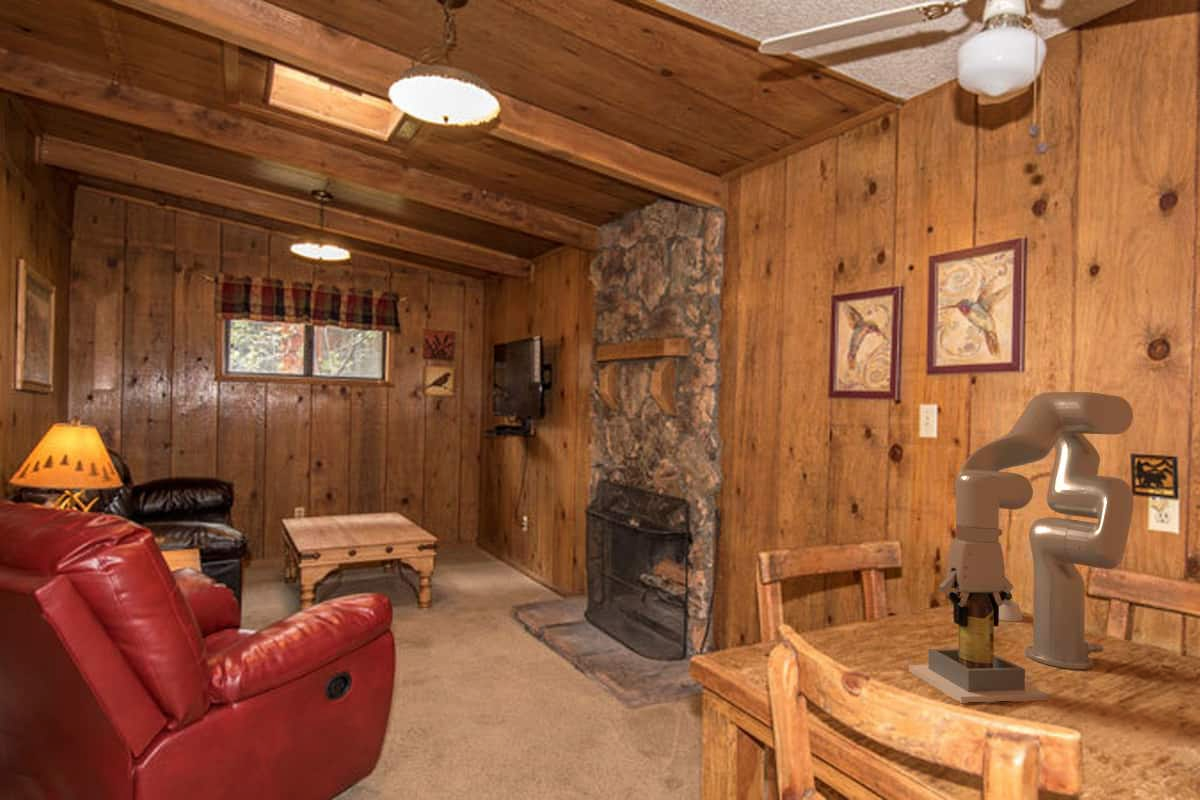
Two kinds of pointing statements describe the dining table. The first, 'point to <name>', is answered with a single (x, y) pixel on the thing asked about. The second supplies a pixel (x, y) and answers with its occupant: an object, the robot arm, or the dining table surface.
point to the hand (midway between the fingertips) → (976, 623)
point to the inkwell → (1010, 610)
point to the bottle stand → (976, 679)
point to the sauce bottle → (977, 633)
